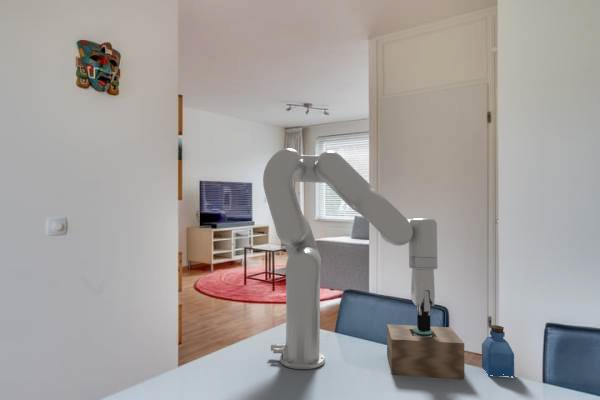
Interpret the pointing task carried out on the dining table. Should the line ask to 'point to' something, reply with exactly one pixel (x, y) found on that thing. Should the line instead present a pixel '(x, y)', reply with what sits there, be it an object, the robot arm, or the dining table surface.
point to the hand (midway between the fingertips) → (423, 329)
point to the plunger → (422, 332)
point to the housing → (425, 352)
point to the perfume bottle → (497, 354)
